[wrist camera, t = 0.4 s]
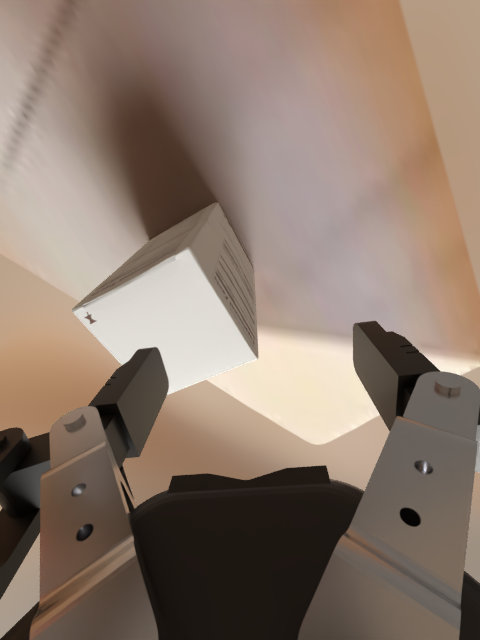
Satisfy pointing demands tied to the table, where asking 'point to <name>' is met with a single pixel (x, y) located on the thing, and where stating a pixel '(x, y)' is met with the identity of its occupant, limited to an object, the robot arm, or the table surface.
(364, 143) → the table surface
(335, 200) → the table surface
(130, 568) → the robot arm
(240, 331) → the supplement box
